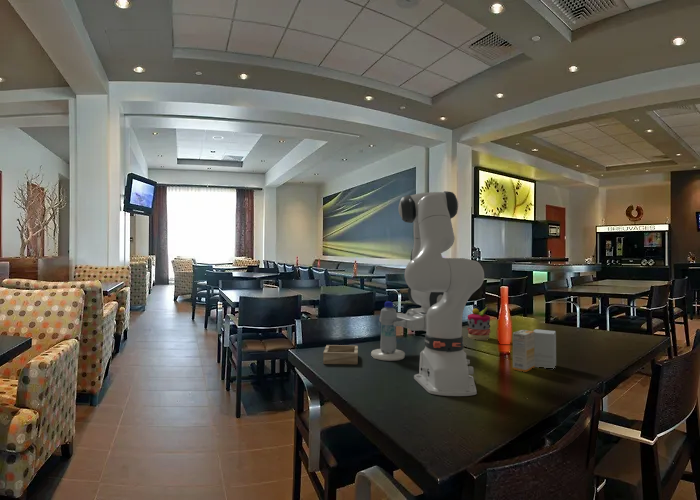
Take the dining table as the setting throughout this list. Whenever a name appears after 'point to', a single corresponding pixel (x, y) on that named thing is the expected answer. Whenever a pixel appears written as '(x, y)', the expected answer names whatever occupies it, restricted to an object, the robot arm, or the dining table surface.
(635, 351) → the dining table surface
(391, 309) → the bottle
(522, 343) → the supplement box
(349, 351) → the box
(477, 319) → the cake
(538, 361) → the supplement box
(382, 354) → the ceramic plate
